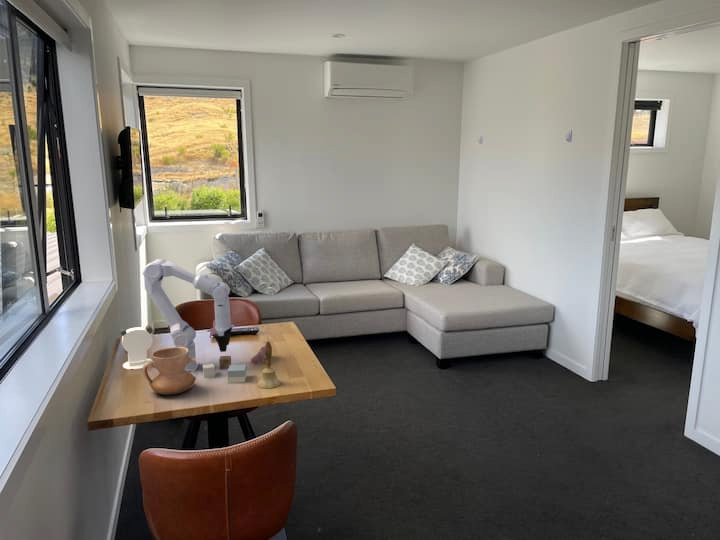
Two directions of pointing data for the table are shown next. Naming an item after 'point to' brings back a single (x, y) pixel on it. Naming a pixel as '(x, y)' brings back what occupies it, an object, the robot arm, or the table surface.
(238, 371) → the tower top
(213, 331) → the lily
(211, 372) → the cream cube
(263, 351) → the video game controller
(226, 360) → the walnut cube
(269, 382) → the hand bell
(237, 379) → the tower base
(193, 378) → the ceramic jug
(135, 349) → the panda figurine
